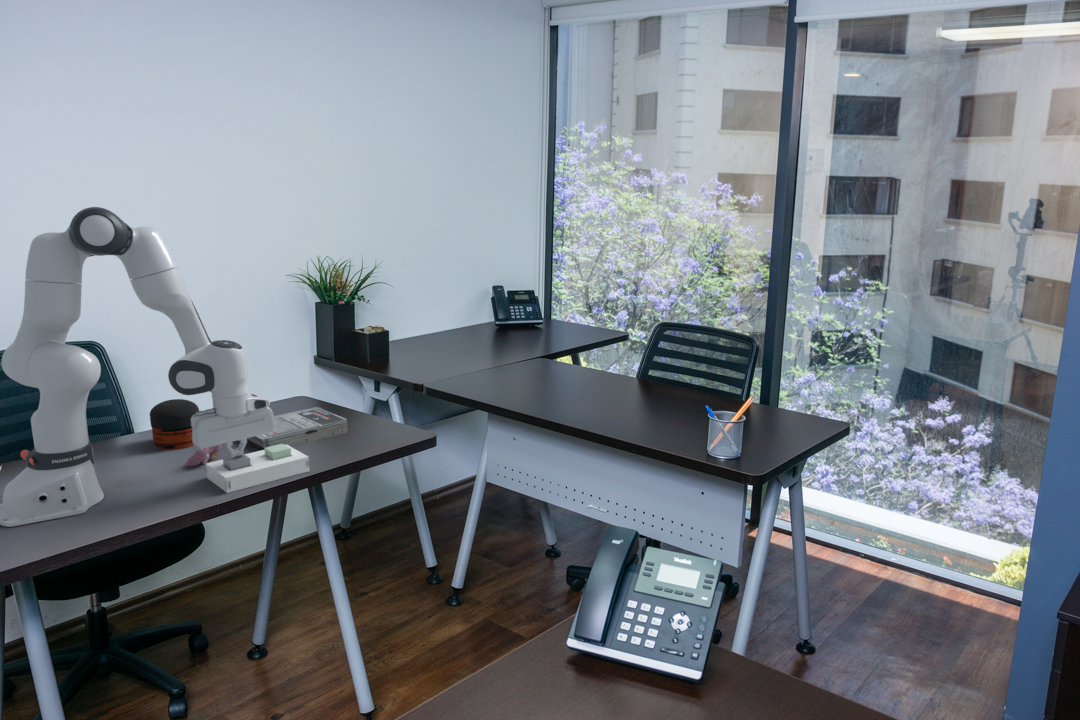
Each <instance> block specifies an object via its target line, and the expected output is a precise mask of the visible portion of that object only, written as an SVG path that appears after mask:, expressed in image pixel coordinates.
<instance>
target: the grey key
mask: <svg viewBox="0 0 1080 720" xmlns="http://www.w3.org/2000/svg"><path fill="white" fill-rule="evenodd" d="M222 460H223V465H224V467H225V468H226V469H228V470H229V471H233V470H237V469H241V468H245V467H249V466H251V464H250V458H249V457H247V456H246V455H243V456H239V457H235V458H231V457H230V455H228V456H224V457H222Z"/></svg>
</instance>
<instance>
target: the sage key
mask: <svg viewBox="0 0 1080 720" xmlns="http://www.w3.org/2000/svg"><path fill="white" fill-rule="evenodd" d="M264 450H265V457H267V458H269V459H270V460H272V461H274V460H278V459H282V458H286V457H290V456H291V448H289V447H287V446H286V445H284V444H279V445H274V446H270V447H266V448H264Z"/></svg>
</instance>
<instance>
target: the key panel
mask: <svg viewBox="0 0 1080 720" xmlns="http://www.w3.org/2000/svg"><path fill="white" fill-rule="evenodd" d="M286 446H287V447H289V448H291V456H290V457H286V458H282V459H278V460H274V461H272V460H270V459H269V458H267V457H265V450H261V451H259V450H257V451H253V452H248V453H245V454H244V455H246V456H247V457H249V458H250V464H251V466H249V467H245V468H241V469H237V470H233V471H229V470H228V469H226V468H225V467H224V465H223V459H219V460H215V461H212V462H207V463H206V464H205V469H206V478H207V479H208V480H209V481H210V482H212V483H213V484H214V485H216V486H217V487H219V489H221V490H223V491H224V492H225V493H226V494H229V493H232V492H236V491H239V490H243V489H247V488H250V487H251V488H252V487H255V486H258V485H263V484H267V483H271V482H274V481H277V480H282V479H287V478H289V477H290V478H291V477H292V476H297V475H300V474H304V473H308V472H310V469H311V468H310V467H311V466H310V456H308V455H307V454H304V453H302V452H301V451H299V450H298V449H296V448H294V447H293V446H292V447H290V446H289V445H286Z"/></svg>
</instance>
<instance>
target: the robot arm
mask: <svg viewBox="0 0 1080 720" xmlns="http://www.w3.org/2000/svg"><path fill="white" fill-rule="evenodd" d="M101 256H115V257H117V258H118V259H119V260H120V261H121V263H122V264H123V267H124V268H125V271H126V273H127V275H128V278H129V281H130V283H131V286H132V288H133V291H134V293H135V295H136V296H137V298H138V300H139V301H140V303H141V304H142V305H144V307H146V308H148V309H150V310H153V311H157V312H160V313H162V314H163V315H165V316H166V317H167V318H169V320H171V322H172V324H173V325H174V328H175V330H176V332H177V334H178V336H179V338H180V341H181V342H182V345H183V346H184V351H185V352H184V355H183V356H181V357H180V358H179V359H177V360H176V361H175V362H174V363H172V364H171V366H170V367H169V370H168V373H167V375H168V382H169V384H170V386H171V387H172V388H173V389H174V391H176V392H177V393H179V394H181V395H183V396H193V395H194V396H195V395H199V394H204V393H208V392H210V393H211V398H212V407H213V408H212V407H211V408H208V409H205V410H204V409H203V410H199V411H198V412H196V414H194V415H193V416H192V417H191V427H192V428H193V429H192V441H193V444H194V446H195V447H196V448H197V449H203V448H208V447H212V446H216V445H220V444H223V446H224V447H225V448H227V451H228V452H229V456H230V457H231V458H235V457H239V456H243V455H244V453H245V452H244V450H245V448H246V445H247V438H250V437H254V436H259V435H263V434H267V433H271V432H273V431H274V429H275V421H274V416H275V415H274V413H273V410H272V409H271V407H270V405H271V402H270V401H271V400H270V399H268V398H266V397H265V396H263V395H260V394H255V393H250V392H251V391H250V388H249V385H248V377H249V373H248V363H247V359H246V354H245V353H246V352H245V350H244V348H243V346H242V345H241V344H239V343H238V342H235V341H232V340H229V339H228V340H225V339H223V340H222V339H220V340H218V339H217V340H212V341H211V338H210V336H209V335H208V333H207V330H206V328H205V326H204V323H203V321H202V319H201V317H200V314H199V313H198V311H197V310H198V309H197V308H196V306H195V304H194V302H193V301H192V299H191V296H190V294H189V292H188V289H187V288H186V285H185V282H184V279H183V276H182V274H181V272H180V269H179V266H178V264H177V261H176V259H175V257H174V255H173V253H172V250H171V249H170V246H169V244H168V243H167V241H166V239H165V237H164V236H163V234H162V233H161V232H160V231H159V230H158V229H156V228H154V227H149V226H139V227H134V228H132V227H131V226H130V225H128V224H127V223H126V222H125V221H124V220H122V219H121V217H119V216H118V215H117V214H115V212H112V211H111V210H110V209H106V208H104V207H101V206H100V207H99V206H90V207H86V208H82V210H79V211H78V212H77V213H76V214H75V215H74V216H73V217H72V219H71V221H70V224H69V226H68V228H67V229H66V230H65V231H63V232H45V233H41V234H38V235H37V236H35V237H34V238H33V239H32V241H31V244H30V247H29V251H28V255H27V259H26V267H25V277H24V278H25V279H24V281H25V282H24V298H23V299H24V301H23V302H24V303H23V304H24V305H23V312H22V319H21V322H20V324H19V329H18V331H17V334H16V336H15V339H14V340H13V342H12V343H11V344H10V345H9V346H8V347H7V348H6V349H5V350H4V352H3V354H2V356H1V367H2V370H3V372H4V374H5V375H6V376H7V377H8V378H10V379H11V380H13V381H14V382H16V383H19V384H20V385H22V386H26V387H31V388H35V389H38V391H39V394H40V395H39V397H40V398H39V404H38V408H37V409H36V410H35V411H34V412H33V413H32V415H31V417H30V426H31V432H32V439H33V445H34V446H33V447H34V448H33V449H32V450H31V451H30V450H28V449H23V450H22V451H20V454H19V455H20V457H21V458H22V460H24V461H25V463H26V467H25V468H24V469H23V470H22V471H21V472H20V473H19V474H18V475H16V476H15V477H14V478H13V479H12V480H11V481H9V482H8V483H7V484H6V485H5V487H4V489H3V495H2V503H0V525H1V526H3V527H7V528H8V527H10V528H12V527H17V526H23V525H29V524H32V523H33V524H34V523H39V522H44V521H50V520H54V519H61V518H65V517H66V518H67V517H71V516H76V515H81V514H83V513H86V512H87V511H88V510H89V509H90V508H91V507H93V506H94V505H97V504H99V503H100V502H101V501H102V500H103V499H104V498H105V494H104V492H103V490H102V488H101V486H100V483H99V481H98V478H97V475H96V471H95V468H94V463H95V462H94V461H95V455H94V449H93V445H92V442H91V441H90V440H89V432H88V423H87V402H88V398H89V394H90V391H91V390H92V388H93V387H95V386H96V385H97V383H98V382H99V379H100V377H101V373H102V368H101V367H102V366H101V363H100V361H99V359H98V357H97V356H96V355H95V354H93V352H90V351H88V350H87V349H84V348H82V347H80V346H77V345H73V344H66V340H67V337H68V334H69V331H70V330H71V327H73V325H74V324H75V323H76V322H78V320H79V319H80V317H81V310H82V283H83V282H82V280H83V278H82V277H83V267H84V263H85V261H86V260H87V258H89V257H101ZM195 415H196V416H195ZM236 441H239V444H238V447H237V448H234V449H233V447H232V446H233V445H234V443H233V442H236Z"/></svg>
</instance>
